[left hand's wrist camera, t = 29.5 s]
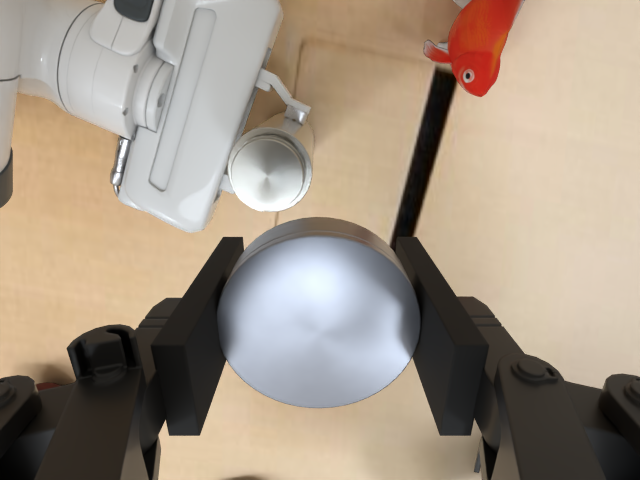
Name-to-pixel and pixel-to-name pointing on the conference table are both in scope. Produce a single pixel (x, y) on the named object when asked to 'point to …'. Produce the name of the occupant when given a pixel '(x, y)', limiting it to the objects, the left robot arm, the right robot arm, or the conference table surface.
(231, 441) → the conference table surface
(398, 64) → the conference table surface
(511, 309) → the conference table surface
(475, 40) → the fish
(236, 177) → the bottle
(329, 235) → the lid
